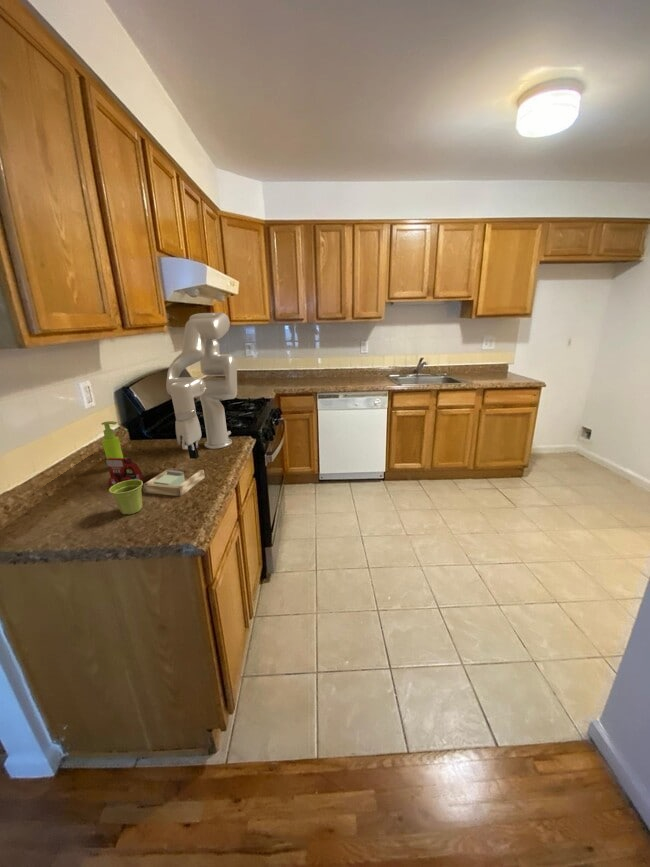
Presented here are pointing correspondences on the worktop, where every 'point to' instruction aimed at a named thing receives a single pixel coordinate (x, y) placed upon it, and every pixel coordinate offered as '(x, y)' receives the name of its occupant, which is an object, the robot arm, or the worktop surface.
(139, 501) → the plant pot
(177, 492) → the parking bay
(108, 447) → the soap dispenser
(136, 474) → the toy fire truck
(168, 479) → the pale green block
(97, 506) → the worktop surface
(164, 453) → the worktop surface
